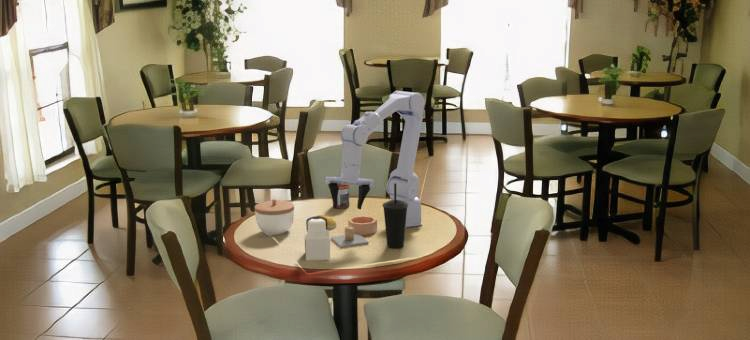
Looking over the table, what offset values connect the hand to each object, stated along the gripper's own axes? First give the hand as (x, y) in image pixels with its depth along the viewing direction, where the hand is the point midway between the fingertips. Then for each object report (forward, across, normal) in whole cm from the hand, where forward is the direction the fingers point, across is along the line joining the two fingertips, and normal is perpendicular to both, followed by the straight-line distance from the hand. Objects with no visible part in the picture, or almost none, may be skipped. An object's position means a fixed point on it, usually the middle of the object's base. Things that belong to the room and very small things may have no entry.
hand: (346, 208), depth 236 cm
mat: (+11, +2, 0) cm, 11 cm away
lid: (+10, +2, 0) cm, 11 cm away
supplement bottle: (+7, +8, +41) cm, 42 cm away
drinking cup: (+10, +14, -8) cm, 19 cm away
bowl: (+9, +8, +10) cm, 16 cm away
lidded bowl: (+12, -19, +17) cm, 28 cm away
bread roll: (+10, -3, +18) cm, 21 cm away
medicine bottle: (+14, -10, -10) cm, 19 cm away
